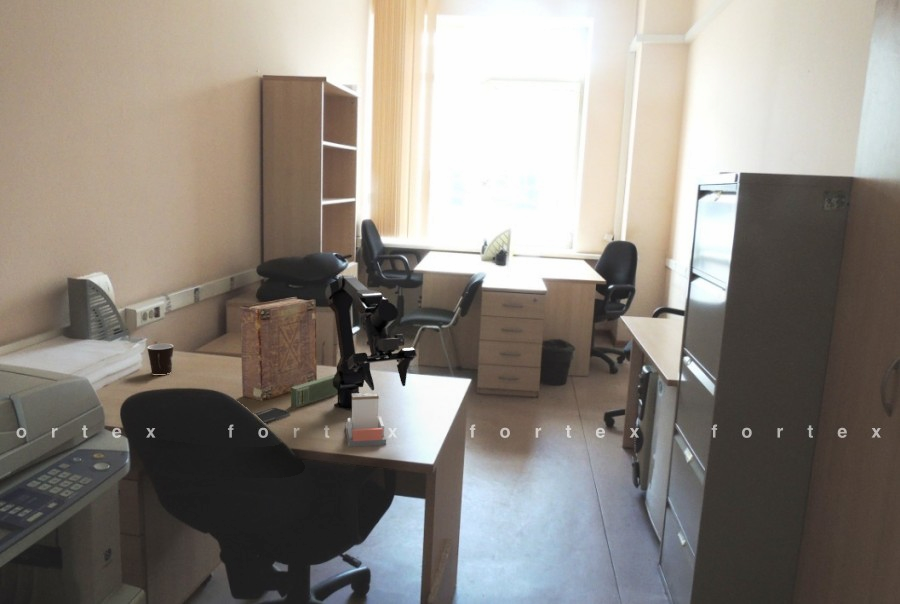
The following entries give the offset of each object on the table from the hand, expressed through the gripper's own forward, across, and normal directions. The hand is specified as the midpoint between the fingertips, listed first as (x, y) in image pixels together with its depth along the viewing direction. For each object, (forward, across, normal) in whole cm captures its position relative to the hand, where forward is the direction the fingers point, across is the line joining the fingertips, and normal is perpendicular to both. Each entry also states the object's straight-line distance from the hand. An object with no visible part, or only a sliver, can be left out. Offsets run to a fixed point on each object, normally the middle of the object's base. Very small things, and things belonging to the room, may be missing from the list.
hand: (388, 387), depth 174 cm
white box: (+8, -5, +12) cm, 15 cm away
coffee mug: (-36, -50, +84) cm, 104 cm away
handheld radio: (-10, -5, +44) cm, 45 cm away
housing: (+9, -4, +13) cm, 17 cm away
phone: (-3, -27, +34) cm, 43 cm away
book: (-18, -15, +55) cm, 60 cm away
